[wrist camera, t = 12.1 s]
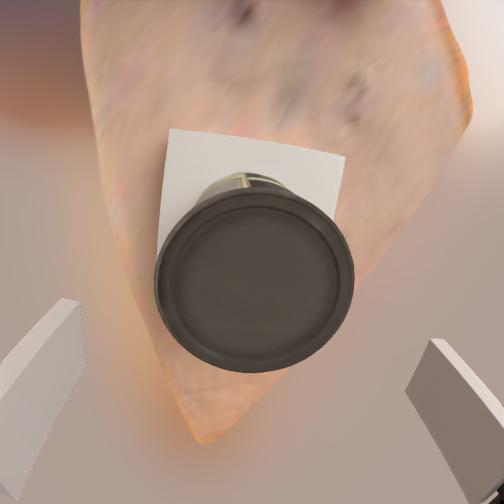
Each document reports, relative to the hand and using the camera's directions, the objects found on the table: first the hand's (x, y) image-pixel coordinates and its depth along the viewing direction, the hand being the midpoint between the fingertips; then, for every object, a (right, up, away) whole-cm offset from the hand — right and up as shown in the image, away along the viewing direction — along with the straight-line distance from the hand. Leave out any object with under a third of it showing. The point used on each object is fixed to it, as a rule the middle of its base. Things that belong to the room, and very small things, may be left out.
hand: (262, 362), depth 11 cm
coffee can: (-1, +6, +19) cm, 20 cm away
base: (-1, +8, +23) cm, 25 cm away
